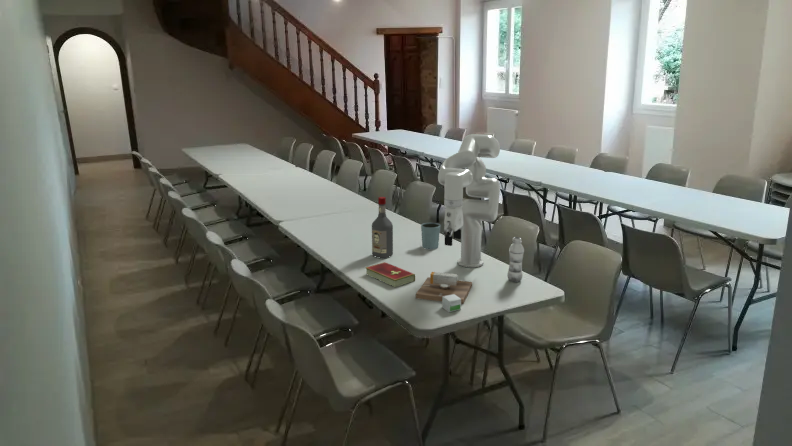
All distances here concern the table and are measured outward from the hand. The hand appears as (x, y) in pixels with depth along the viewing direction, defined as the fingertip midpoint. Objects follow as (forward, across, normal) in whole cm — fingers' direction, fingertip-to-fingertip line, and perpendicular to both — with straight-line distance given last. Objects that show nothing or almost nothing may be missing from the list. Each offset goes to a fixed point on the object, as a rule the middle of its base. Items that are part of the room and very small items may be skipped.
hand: (452, 241), depth 246 cm
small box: (+22, -18, -7) cm, 29 cm away
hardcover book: (+23, 0, +30) cm, 38 cm away
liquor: (+23, +26, +48) cm, 60 cm away
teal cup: (+24, +50, +33) cm, 64 cm away
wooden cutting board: (+22, -4, +2) cm, 22 cm away
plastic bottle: (+22, +22, -21) cm, 38 cm away
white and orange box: (+19, -4, +2) cm, 20 cm away
